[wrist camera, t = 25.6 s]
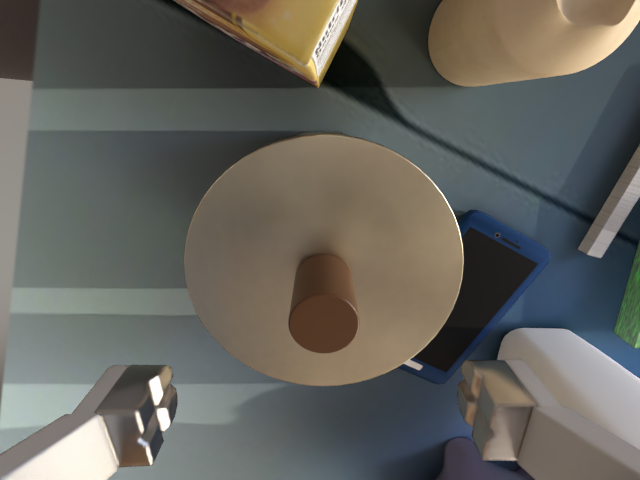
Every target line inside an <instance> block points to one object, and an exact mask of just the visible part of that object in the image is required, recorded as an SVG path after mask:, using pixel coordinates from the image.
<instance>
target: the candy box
mask: <svg viewBox="0 0 640 480" xmlns="http://www.w3.org/2000/svg"><path fill="white" fill-rule="evenodd" d="M174 1H175V2H177V3H178V4H180V5H181V6H183V7H184V8H186V9H187V10H189V11H190V12H192V13H193V14H195V15H197V16H198V17H200V18H201V19H203V20H205V21H206V22H208V23H209V24H211V25H212V26H214V27H216V28H217V29H219V30H220V31H222V32H224V33H225V34H227V35H229V36H230V37H232V38H233V39H235V40H236V41H238V42H240V43H242V44H243V45H245V46H247V47H248V48H250V49H252V50H254V51H255V52H257V53H259V54H260V55H262V56H264V57H265V58H267V59H269V60H270V61H272V62H274V63H276V64H277V65H279V66H281V67H282V68H284V69H286V70H288V71H289V72H291V73H293V74H295V75H296V76H298V77H300V78H301V79H303V80H305V81H307V82H308V83H310V84H311V85H313V86H315V87H316V88H319V86H320V84H321V82H322V80H323V78H324V76H325V74H326V72H327V70H328V68H329V66H330V64H331V62H332V60H333V58H334V56H335V54H336V52H337V50H338V48H339V46H340V44H341V42H342V40H343V38H344V36H345V34H346V32H347V30H348V28H349V25H350V21H351V19H352V16H353V13H354V10H355V8H356V5H357V2H358V0H174Z"/></svg>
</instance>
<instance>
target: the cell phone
mask: <svg viewBox="0 0 640 480" xmlns="http://www.w3.org/2000/svg"><path fill="white" fill-rule="evenodd" d="M457 223H458V226H459V230H460V234H461V239H462V243H463V257H464V264H463V276H462V282H461V286H460V290H459V294H458V297H457V300H456V302H455V305H454V307H453V310H452V311H451V313H450V315H449V317H448V319H447V321H446V322H445V324H444V325H443V327H442V328H441V329H440V331H439V332H438V333H437V335H436V336H435V337H434V338H433V339H432V340H431V341H430V342H429V344H428V345H427V346H426V347H425V348H423V349H422V350H421V351H420V352H419V353H418V354H416V355H415V356H414V357H413V358H411V359H410V360H408V361H407V362H405V363H404V364H402V365H401V366H399V367H398V368H400V369H402V370H405V371H407V372H409V373H411V374H414V375H416V376H418V377H420V378H423V379H425V380H427V381H430V382H432V383H435V384H444V383H445V382H446V381H447V380H448V379H449V378H450V377H451V376H452V375H453V374H454V373H455V372H456V370H457V369H458V368H459V367H460V366H461V365H462V363H463V362H464V361H465V360H466V359H467V358H468V356H469V355H470V354H471V353H472V352H473V351H474V350H475V348H476V347H477V346H478V345H479V344H480V343H481V341H482V340H483V339H484V338H485V337H486V336H487V334H488V333H489V332H490V331H491V330H492V329H493V327H494V326H495V325H496V324H497V323H498V322H499V321H500V319H501V318H502V317H503V316H504V315H505V314H506V312H507V311H508V310H509V309H510V308H511V307H512V305H513V304H514V303H515V302H516V301H517V300H518V298H519V297H520V296H521V295H522V294H523V293H524V292H525V290H526V289H527V288H528V287H529V286H530V285H531V283H532V282H533V281H534V280H535V279H536V278H537V276H538V275H539V274H540V273H541V272H542V270H543V269H544V268H545V267H546V265H547V264H548V263H549V261H550V257H551V254H550V252H549V251H548V250H547V249H546V248H545V247H543V246H542V245H540V244H539V243H537V242H535V241H533V240H532V239H530V238H528V237H526V236H524V235H523V234H521V233H519V232H517V231H516V230H514V229H512V228H510V227H508V226H507V225H505V224H503V223H501V222H499V221H498V220H496V219H494V218H492V217H491V216H489V215H487V214H485V213H483V212H481V211H478V210H470V211H468V212H467V213H465V214H463V216H462V217H461V218H460V219H459V221H458V222H457Z"/></svg>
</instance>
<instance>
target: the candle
mask: <svg viewBox="0 0 640 480" xmlns="http://www.w3.org/2000/svg"><path fill="white" fill-rule="evenodd" d="M639 20H640V0H442V2H441V3H440V5H439V6H438V8H437V10H436V12H435V14H434V16H433V19H432V21H431V25H430V28H429V35H428V49H429V54H430V58H431V61H432V63H433V65H434V67H435V68H436V70H437V71H438V73H439V74H440V75H441V76H442V77H443V78H445V79H446V80H448V81H449V82H451V83H454V84H456V85H460V86H467V87H472V86H483V85H491V84H499V83H506V82H514V81H522V80H529V79H537V78H545V77H553V76H560V75H566V74H571V73H575V72H578V71H581V70H584V69H586V68H588V67H590V66H593V65H595V64H596V63H598V62H599V61H601V60H603V59H604V58H605V57H607V56H608V55H609V54H611V53H612V52H613V51H614V50H615V49H616V48H617V47H618V46H619V45H621V44H622V43H623V41H624V40H625V39H626V38H627V37H628V36H629V34H630V33H631V32H632V30H633V29H634V28H635V26H636V25H637V24H638V22H639Z"/></svg>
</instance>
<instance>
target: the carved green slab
mask: <svg viewBox="0 0 640 480" xmlns="http://www.w3.org/2000/svg"><path fill="white" fill-rule="evenodd" d="M614 333H615V334H616V335H618V336H619V337H620V338H622V339H623V340H624V341H626V342H627V343H628V344H629V345H631V346H632V347H633V348H640V240H639V244H638V248H637V251H636V255H635V258H634V262H633V265H632V269H631V272H630V276H629V279H628V283H627V286H626V290H625V294H624V297H623V301H622V304H621V308H620V311H619V315H618V318H617V322H616V325H615V329H614Z"/></svg>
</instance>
